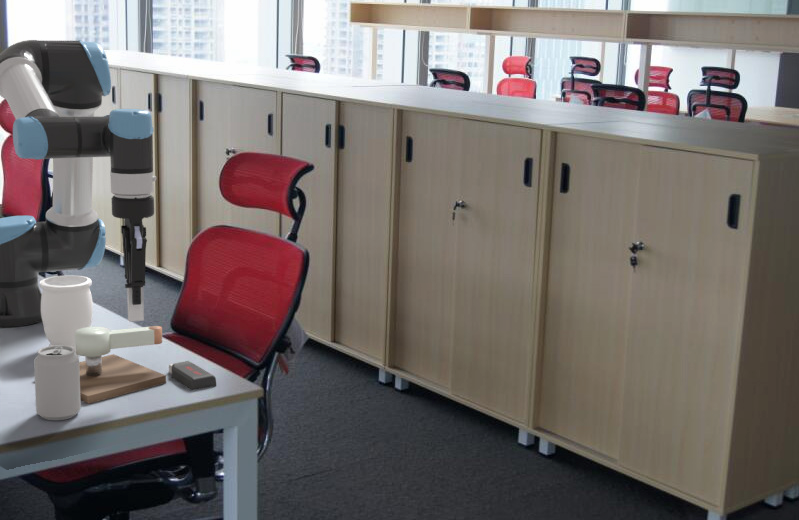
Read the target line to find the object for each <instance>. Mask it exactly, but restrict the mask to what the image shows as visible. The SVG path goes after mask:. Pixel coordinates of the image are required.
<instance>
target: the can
mask: <svg viewBox="0 0 799 520" xmlns="http://www.w3.org/2000/svg"><path fill="white" fill-rule="evenodd" d="M79 362H80V357H79V355H78V354H76V353H75V349H74V348H73V347H70V346H64V345H55V346H49V345H48V346H44V347H41V348H40V349H38V350H37V355H36V356H35V358H34V359H33V364H34V365H33V369H34V370H33V371H34V389H35V390H34V391H35V409H36V410H35V411H36V414H37V415H38V416H40V417H41V418H42V419H44V420H47V421H48V420H49V421H64V420H67V419H71V418H73V417H75V416H76V415H77V413H78V412H80V411H81V408H82V407H81V406H82V404H81V402H82V401H81V400H80V371H79Z"/></svg>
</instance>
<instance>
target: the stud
mask: <svg viewBox="0 0 799 520" xmlns="http://www.w3.org/2000/svg"><path fill="white" fill-rule="evenodd" d="M84 357H85V358H84V361H85V362H86V375H87V376H99V375H101V374H102V357H103V355H102V356H94V357H87V356H84Z"/></svg>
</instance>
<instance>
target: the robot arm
mask: <svg viewBox="0 0 799 520" xmlns="http://www.w3.org/2000/svg"><path fill="white" fill-rule="evenodd" d="M111 78H112V77H111V71H110V65H109V61H108V58H107V55H106V51H105V49H104V48H103V47H102V45H101V44H100V43H98V42H94V41H83V40H39V39H38V40H37V39H28V40H21V41H19V42H16V43H13V44H12V45H10V46H8V47H7V48H5V49H4V50H3V51H2V52H0V96H1V98H3V99H4V100H6V101H7V104H8V106H9V108H10V111H11V112H12V115H13V117H14V119H15V120H14V122H13V125H12V141H13V146H14V152H15V154H16V156H17V157H18V158H20V159H23V160H24V159H26V160H27V159H29V160H30V159H31V160H37V161H38V160H39V161H40V160H49V159H50V160H51V159H52V163H53V164H52V206H51V207H50V208H49V209H48V210H47V211H46V212H45V221H37V220H36V219H35V217H34V216H33V215H26V214H25V215H24V214H23V215H13V216H12V215H11V216H6V217H1V218H0V328H2V327H3V328H4V327H5V328H8V327H10V328H12V327H13V328H14V327H23V326H28V325H34V324H38V323H40V322H43V321H42V316H41V296H42V292H41V291H42V290H41V289H40V285H39V279H38V278H39V277H38V273H45V272H46V273H47V272H48V273H49V272H61V271H62V272H63V271H75V270H78V271H81V270H84V269H92V268H95V267H97V266H98V265H100V263H101V262H102V260H103V257H104V254H105V251H106V241H107V239H106V238H107V237H106V227H105V223H104V221H103V220H102V219H100V218H99V214H98V212H97V211H96V210H94V208H92V207H93V205H92V203H93V173H94V172H93V171H94V170H93V169H94V165H93V164H94V158H110V159H109V160H110V192H111V194H113V196H112V197H111V215H112V216H113V217H114V218H118V219H122V220H123V221H124V222H123V223H124V224H123V225H120V232H121V235H122V247H123V248H122V249H123V263H124V264H123V265H124V266H123V267H124V279H125V280H126V281H125V282H126V283H125V284H124V288H125V289H126V292H127V293H126V294H127V295H126V296H127V302H126V303H127V321H128V322H141V321H142V322H143V321H145V310H144V308H145V306H144V302H145V301H144V286H146V257H147V254H146V253H147V251H146V249H147V242H148V239H147V227H146V226H144V224H143V219H149V218H151V217H153V216H154V215H155V198H154V197H155V196H153V195H152V193H154V183H153V182H156V181H157V176H156V175H154V151H153V150H154V142H153V141H154V140H153V138H154V137H153V135H154V127H153V118H152V113H151V112H150V111H149V110H147V109H141V108H140V109H139V108H117V109H113V110H111V111H110V112H109V114H107V115H104V116H95V111H97V110H98V109H99V108H100V107H101V106H102V105H103V103H102V102H103V97H107V96H109V95H110V93H111V90H112V79H111Z"/></svg>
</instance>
